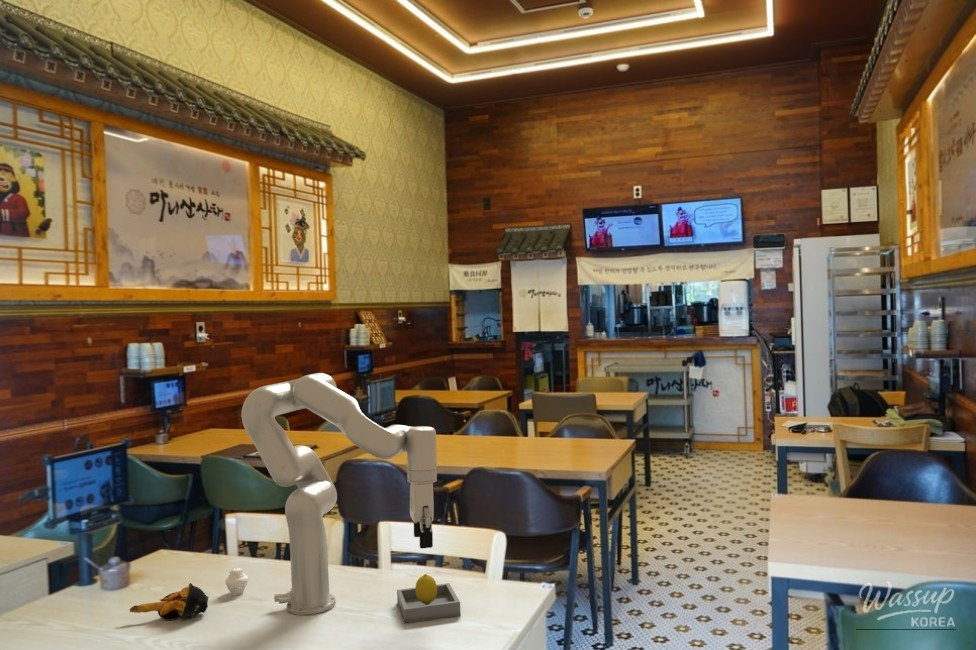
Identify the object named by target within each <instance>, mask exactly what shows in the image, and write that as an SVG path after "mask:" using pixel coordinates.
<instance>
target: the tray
mask: <svg viewBox="0 0 976 650" xmlns="http://www.w3.org/2000/svg"><path fill="white" fill-rule="evenodd" d="M436 585H437V595H436V598H435V599H434V601H433V602H431V603H430V604H429V605H425V604H424V603H422V602H420V601H419V600H418V598H417V596H416V587H409V588H402V589H401V588H399V589H397V590H396V601H397V606H398V609H399V612H400V614H401V617H402V620H403V623H404V624H406V625H407V624H413V623H414V624H415V623H421V622H427V621H435V620H441V619H448V618H454V617H455V618H456V617H461V615H462V614H461V601H460V599H459V597H458V596H457V594H456V593H455V591H454V588H452V585H451V584H450V582H448V583H440V584H436Z"/></svg>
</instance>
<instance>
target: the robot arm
mask: <svg viewBox="0 0 976 650" xmlns="http://www.w3.org/2000/svg"><path fill="white" fill-rule="evenodd" d="M337 387H338V386H337V383H336V381H335V380H334V378H333V377H332V376H330V375H329V374H326V373H323V372H315V373H310V374H306V375H303V376H301V377H300V378H296V379H291V380H287V381H283V382H278V383H273V384H268V385H263V386H260V387H258V388H256V389H253V390H252V391H251V392H249V394H248V395H247V397H246V398H245V400H244V401H243V405H242V406H241V420H242V421H241V422H242V425H243V427H244V430H245V432H246V434H247V435H248V436H249V438H250V440H251V441H252V443H253V445H254V446H255V448H256V450H257V453H258V454H259V456H260V458H261V460H262V462H263V464H264V466H265V467H266V469H267V471H268V473H269V474H270V476H271V478H272V480H273V481H274V482H275V483H276V485H277V486H279V487H284V488H287V487H291V486H294V485H296V487H297V489H295V490H293V491H292V493H290V495H289V496H288V498H287V500H286V502H285V506H284V511H285V513H284V514H285V518H286V523H287V528H288V535H289V553H290V554H289V555H290V575H291V576H290V577H291V579H290V580H291V587H290V591H286V593H275V594H274V597H273V598H274V599H273V601H274V603H277V602H278V604H286V606H285V607H286V610H287V612H288V613H290V614H293V615H298V616H306V615H308V616H309V615H316V614H320V613H323V612H326V611H329V610H330V609H332V608H333V607H334V606H336V597H335V596H334V595H332V594H330V581H329V579H330V578H329V577H330V576H329V561H328V556H329V555H328V538H327V537H328V536H327V531H326V527H325V523H324V517H323V516H324V515H326V514H327V513H328V512H330V511H332V510H333V508H334V507H335V505H336V503H337V501H338V492H337V489H336V486H335V484H334V482H333V480H332V479H331V477H330V474H329V473H328V472H327V470H326V468H325V466H324V463H322V461H321V459H320V457H319V455H318V454H317V453H316V452H315V451H314V450H313V449H311V447H309V446H306V445H304V444H303V445H302V444H300V445H299V444H298V445H294V444H293V443H292V441H291V440H290V437H289V436H288V434H287V432H286V430H285V429H284V428H283V427H282V426H281V424H280V423H278V422H277V420H276V419H275V418H276V416H281V415H284V414H288V413H291V412H296V411H298V410H302V409H303V410H304V409H306V410H308V411H310V412H312V413H314V414H316V415H317V416H319V417H321V418H322V419H323V420H325V421H327V422H328V423H330V424H332V425H334V426H335V427H337V429H339V431H340V432H341V433H342V434H343V435H344V436H345V437H346V438H347V439H348V440H349V441H350V442H351V443H352V444H353V445H354V446H357V447H358V448H360V450H363V451H364V452H366V453H368V454H370V455H371V456H372V457H375V458H377V459H381V460H390V459H392V458H395V457H397V456H398V455H400V454H403V453H406V468H407V473H406V475H407V477H406V478H407V483H409V484H410V486H409V516H410V518H411V520H412V521H413V537H414V538H419V548H420V549H429V548H430V549H431V548H434V547H433V546H434V545H433V543H434V542H433V541H434V540H433V534H434V533H433V524H432V522H433V521H434V513H435V512H434V510H435V509H434V506H435V505H434V503H435V501H434V483H435V482H437V481H438V478H437V477H438V471H437V470H438V469H437V467H438V466H437V461H438V460H437V457H438V456H437V431H436V429H435V428H434V427H432V426H428V425H427V426H424V425H423V426H422V425H421V426H419V425H418V426H410V425H409V426H408V425H403V424H391V425H389V426H387V427H383V426H381V425H379V424H377V423H376V422H374V421H372V420H371V419H369V418H368V417H367V416H366V415H365V414H364V413H363V412H362V410H361V409H360V406H359V402H358V400H357V399H356V398H354V397H353V396H351V395H350V394H348V393H346V392H344V391H342V390H341V389H339V388H337Z"/></svg>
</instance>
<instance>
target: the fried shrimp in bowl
mask: <svg viewBox="0 0 976 650" xmlns="http://www.w3.org/2000/svg"><path fill="white" fill-rule="evenodd" d="M208 601H209V596H208V595H207V594H206V593H205V592H204V591H203V590H202V589H201V588H200V587H197V586H195V585H193V584H192V582H190V583H189V584H188V586H185V587H183V588H181V590H179V591H175V592H172V593H169V594H168V595H166V596H164V597H163V598H161V599H159V601H156V602H155V601H154V602H148V603H147V602H145V603H141V604H139V605H136V604H135V605H133V606H132V607H130V608H129V612H130V613H135V614H136V613H137V614H140V613H149V612H157V614H158V616H159V617H160V619H162V620H164V621H174V620H180V621H181V620H183V619H189V618H190V619H192V618H194V617H196V616H198V615H199V614H201V613H206V611H207V608H208V607H209V606H208V605H209V604H208V603H209V602H208Z"/></svg>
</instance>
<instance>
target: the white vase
mask: <svg viewBox="0 0 976 650" xmlns="http://www.w3.org/2000/svg"><path fill="white" fill-rule="evenodd" d="M224 581H225V582H224V583H225V585H226V587H227V589H228V592H230V594H231V595H233V594H237V595H241V594H243V593H244V592H245V589H246V587H247V585H248V582H249V577H248V575H247V574H245V572H244V570H243V568H240V567H235V568H233V569H231V570H230V571H229V574H228V576H227V578H225V580H224ZM240 593H241V594H240Z"/></svg>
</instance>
